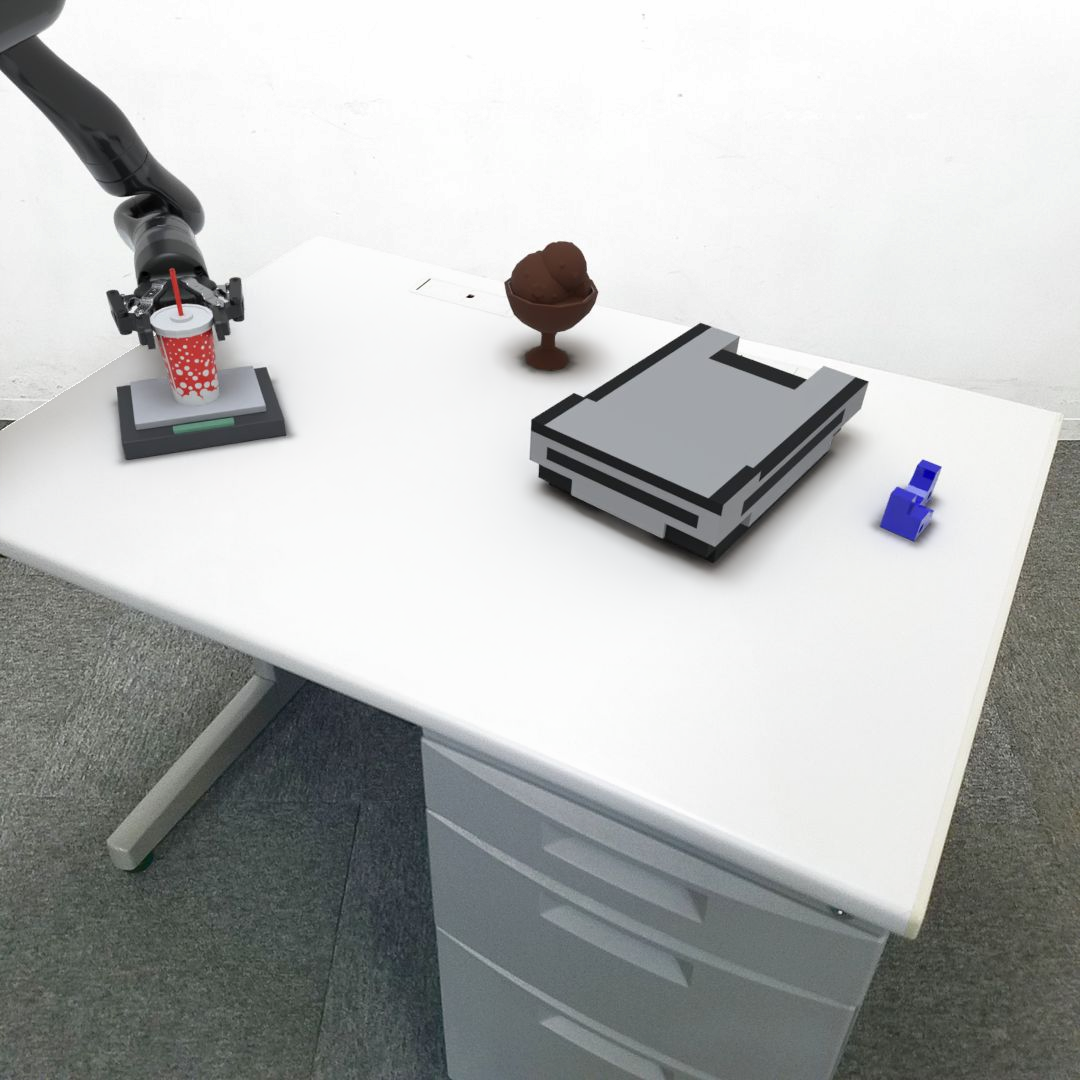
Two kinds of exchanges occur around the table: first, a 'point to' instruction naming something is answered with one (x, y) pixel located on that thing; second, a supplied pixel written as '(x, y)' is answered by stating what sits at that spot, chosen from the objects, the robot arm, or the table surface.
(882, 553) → the table surface
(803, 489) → the table surface
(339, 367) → the table surface
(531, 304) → the ice cream bowl
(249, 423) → the scale
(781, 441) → the game console
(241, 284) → the robot arm
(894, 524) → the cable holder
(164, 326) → the beverage cup
